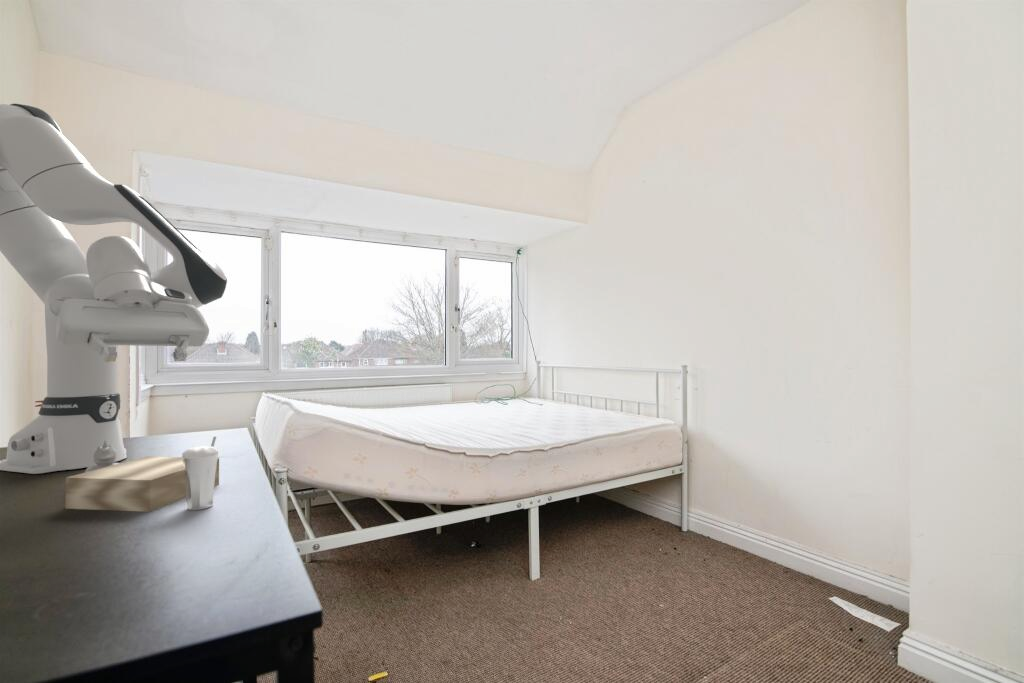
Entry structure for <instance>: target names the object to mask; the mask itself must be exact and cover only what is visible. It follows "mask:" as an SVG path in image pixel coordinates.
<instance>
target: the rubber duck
mask: <svg viewBox="0 0 1024 683" xmlns="http://www.w3.org/2000/svg"><path fill="white" fill-rule="evenodd" d="M115 460H116V450H115V449H114V448H113V446H112V445H111V444H110V446H109V447H108V446H107V442H106V440H105V442H104V445H103V447H102V448H101V446H100V445H99V446H98V448H97V450H96V451H95V453H94V462H95V463H96V465H94V466H91V467H86V469H85V470H84V473H85V472H89V471H93V470H97V469H101V468H105V467H108V466H112V465H116V464H120V462H114V461H115Z"/></svg>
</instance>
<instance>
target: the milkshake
mask: <svg viewBox="0 0 1024 683" xmlns="http://www.w3.org/2000/svg"><path fill="white" fill-rule="evenodd" d="M216 439H217V436H213V437H212V441H211V445H210V446H208V445H207V446H206V445H201V446H192V447H190V448H187V449H185V451H183V453H181V457H182V459H183V467H184V475H185V485H186V505H187V506H186V508H187V510H189V511H200V510H201V511H202V510H205V509H209V508H210V507H213V505H214V493H215V486H214V483H215V472H216V466H217V458H219V450H218V449H217V448H216V447H215V444H216Z"/></svg>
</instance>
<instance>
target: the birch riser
mask: <svg viewBox="0 0 1024 683" xmlns="http://www.w3.org/2000/svg"><path fill="white" fill-rule="evenodd" d="M119 463H120V462H119ZM219 485H220V458H219V457H218V458H217V466H216V472H215V483H214V487H216V486H219ZM183 499H187V497H186V485H185V475H184V467H183V459H182V456H150V455H149V456H144V457H139V458H137V459H132V460H128V461H124V462H121V463H120V464H116V465H112V466H108V467H105V468H101V469H97V470H93V471H89V472H85V471H84V472H82V473H79V474H75V475H71V476H67V477H66V476H65V509H71V510H72V509H73V510H91V511H92V510H95V511H97V510H98V511H99V510H101V511H123V512H124V511H127V512H146V513H147V512H153V511H156V510H158V509H161V508H163V507H166V506H168V505H170V504H173V503H176V502H178V501H181V500H183Z"/></svg>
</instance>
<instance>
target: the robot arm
mask: <svg viewBox="0 0 1024 683" xmlns="http://www.w3.org/2000/svg"><path fill="white" fill-rule="evenodd" d="M126 222H127V223H131V224H132V223H133V224H136V225H137V226H138V227H140V228H142V229H143V230H144V231H145V232H146V233H147V234H148V235H149V236H150V237H151V238H153V240H155V241H156V242H157V243H158V244H159V245H160V246H161V247H162V248H164V250H165V251H166V252H167V253H169V254H170V256H172V258H173V260H172V261H171V263H168V264H167V265H165V266H163V267H161V268H160V269H158V270H156V271H154V272H152V271H151V269H150V266H149V263H148V261H147V259H146V258H145V256H144V254H143V252H142V251H141V249H140V248H139V246H138V244H137V243H136V242H134V241H133V240H132V239H130V238H129V237H127V236H126V237H125V236H121V235H111V236H104V237H102V238H100V239H97V240H95V241H94V242H92V243H91V244H90V246H88V249H87V251H86V254H85V253H84V252H83V250H82V249H81V247H80V246H79V244H78V243H77V242H76V240H75V239H74V237H73V236H72V234H71V233H70V232H69V231H68V230H67V228H66V227H65V225H64V224H67V225H68V224H69V225H76V226H77V225H78V226H93V225H95V226H96V225H104V224H105V225H106V224H111V223H126ZM63 223H64V224H63ZM0 253H1V254H2V255H3V256H4V257H5V259H6V260H7V261H8V263H9V264H10V265H11V267H13V268H14V269H15V271H16V272H17V273H18V274H19V275H20V277H21V278H22V279H23V280H24V281H25V282H26V284H27V285H28V286H29V287H30V288H31V289H32V291H33V292H34V293H35V295H36V296H37V297H38V298H39V299H40V301H42V303H43V304H44V319H45V320H44V321H45V325H44V326H45V341H46V342H45V343H46V355H47V358H46V359H47V360H46V362H47V363H46V364H47V365H46V370H47V371H46V373H47V374H46V375H47V376H46V390H47V391H46V397H44V398H43V400H36V401H34V402H35V403H39V404H36V405H34V407H35V408H37V407H40V408H39V411H38V416H37V417H36V418H35V419H33V420H32V421H30V422H29V423H28V424H26V425H25V426H24V427H23V428H21V429H20V430H18V431H16V433H14V434H12V435H11V437H10V438H9V439H8V442H7V448H6V457H5V458H6V459H2V460H1V459H0V471H6V472H14V473H24V474H31V475H37V474H38V475H39V474H45V473H51V472H57V471H59V472H60V471H66V470H77V469H78V470H79V469H83V468H89V467H91V466H94V465H96V463H95V462H94V453H95V451H96V450H97V448H98V446H99V445H100V446H101V448H102V447H103V445H104V442H105V440H106V442H107V446H108V447H109V446H110V444H111V445H112V446H113V448H114V449H115V450H116V460H115V461H114V463H117V462H119V461H122V460H124V459H126V458H128V456H127V448H126V447H125V444H124V439H123V432H122V431H123V430H122V424H121V419H120V417H119V411H120V409H121V402H122V400H121V394H120V393H119V392H118V372H119V371H118V370H119V369H118V360H119V359H118V358H119V357H118V355H119V354H118V351H119V350H118V348H119V346H134V347H135V346H141V347H142V346H145V347H147V346H149V347H150V346H151V347H175V348H174V350H173V353H172V357H173V360H174V362H186V360H187V358H188V353H187V349H188V347H202V346H203V345H204V344H205V343H206V341H207V339H208V337H209V334H210V328H209V326H208V323H207V321H206V320H205V317H204V316H203V313H202V312H201V311H200V309H199V308H200V307H203V306H204V305H207V304H209V303H213V302H214V301H217V300H219V299H221V298H222V297H223V296H224V293H225V291H226V288H227V283H228V280H227V279H228V278H227V277H226V275H225V273H224V270H222V268H221V267H220V266H219V265H218V264H217V262H215V261H213V259H211V258H210V257H209V256H207V255H205V253H204V252H202V251H201V250H200V249H198V248H197V246H196V245H195V244H193V243H192V242H191V241H190V240H189V239H188V238H187V237H186V236H185V235H184V234H183V233H181V231H179V230H178V228H176V226H174V225H173V224H172V223H171V222H170V221H169V220H168V219H167V218H166V217H165V216H164V215H163V214H162V213H161V212H160V211H158V210H157V209H156V208H155V206H154V205H152V204H151V203H150V202H148V201H147V200H146V199H145V198H144V197H143V196H142V195H140V194H139V193H138V192H137V191H136V190H134V189H132V188H131V187H128V186H127V185H125V184H115V183H112V182H110V181H108V180H106V179H105V178H104V177H103V176H101V175H100V174H99V173H98V172H97V171H96V169H94V168H93V167H92V165H91V164H90V162H88V160H87V159H86V158H85V157H84V156H83V154H82V153H81V152H80V151H79V150H78V149H77V148H76V147H75V146H74V145H73V144H72V143H71V142H70V141H69V140H68V139H67V138H66V137H65V136H64V135H63V132H62V130H61V128H60V126H59V125H58V123H57V122H56V120H54V118H52V116H51V115H49V114H48V113H47V112H46V111H44V110H43V109H40V108H39V107H34V106H31V105H26V104H21V103H11V104H3V103H0ZM151 272H152V273H151Z"/></svg>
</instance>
